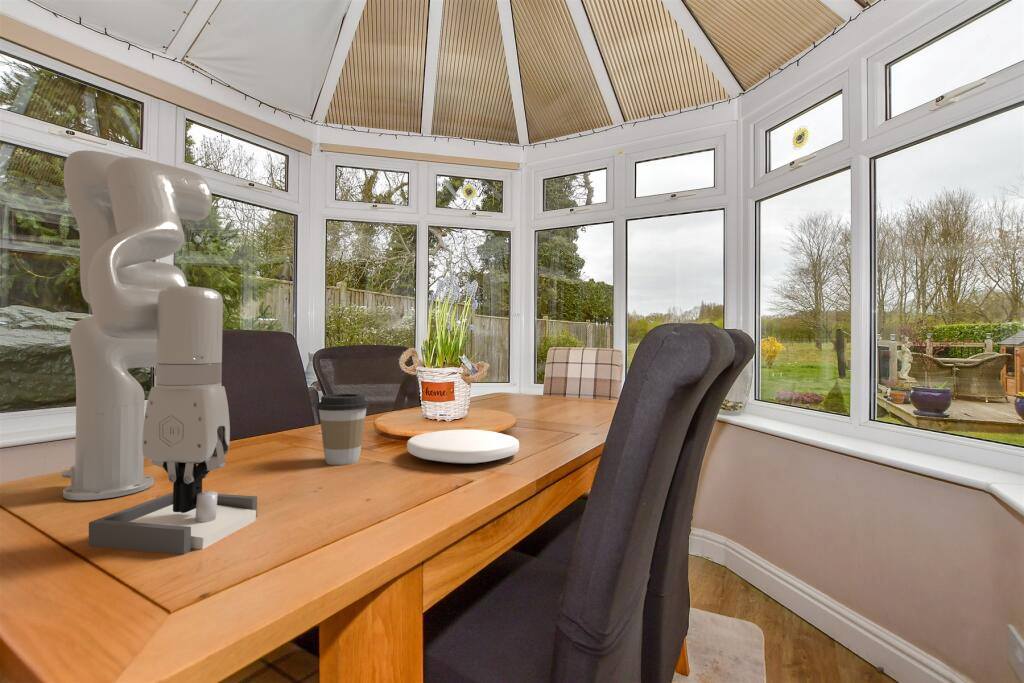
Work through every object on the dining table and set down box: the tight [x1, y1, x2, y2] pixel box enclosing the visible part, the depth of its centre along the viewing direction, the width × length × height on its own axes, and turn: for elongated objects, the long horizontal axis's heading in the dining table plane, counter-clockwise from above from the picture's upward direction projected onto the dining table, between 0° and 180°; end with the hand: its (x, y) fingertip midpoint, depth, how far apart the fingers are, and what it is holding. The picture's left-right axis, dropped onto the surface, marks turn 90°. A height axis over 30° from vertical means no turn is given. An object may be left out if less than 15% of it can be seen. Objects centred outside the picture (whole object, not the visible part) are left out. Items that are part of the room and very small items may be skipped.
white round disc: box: [406, 429, 520, 464], centre depth 116 cm, size 28×6×27 cm
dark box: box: [87, 491, 258, 556], centre depth 67 cm, size 14×13×4 cm
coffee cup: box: [316, 393, 370, 466], centre depth 110 cm, size 11×11×15 cm
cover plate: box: [129, 490, 257, 550], centre depth 66 cm, size 12×10×5 cm
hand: (187, 509), depth 66 cm, fingers closed
